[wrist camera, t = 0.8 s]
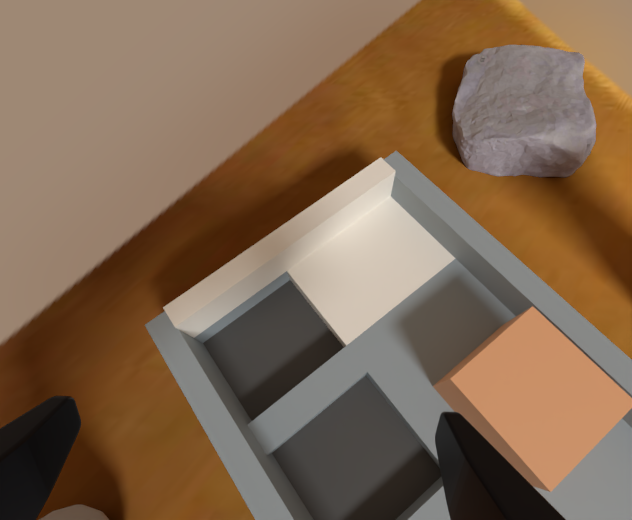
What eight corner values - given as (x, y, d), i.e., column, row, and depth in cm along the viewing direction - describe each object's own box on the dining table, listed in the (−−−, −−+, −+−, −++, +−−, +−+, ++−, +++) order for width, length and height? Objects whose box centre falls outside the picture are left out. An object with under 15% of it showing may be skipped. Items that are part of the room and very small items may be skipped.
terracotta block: (586, 406, 21) (636, 402, 17) (512, 479, 20) (550, 492, 16) (503, 324, 23) (532, 306, 20) (432, 386, 22) (450, 378, 18)
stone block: (449, 187, 32) (585, 183, 29) (452, 148, 28) (610, 139, 25) (451, 91, 37) (567, 79, 34) (453, 45, 33) (586, 27, 30)
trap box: (702, 485, 21) (801, 502, 16) (442, 788, 17) (478, 921, 12) (389, 187, 30) (397, 145, 26) (175, 340, 26) (140, 322, 22)
